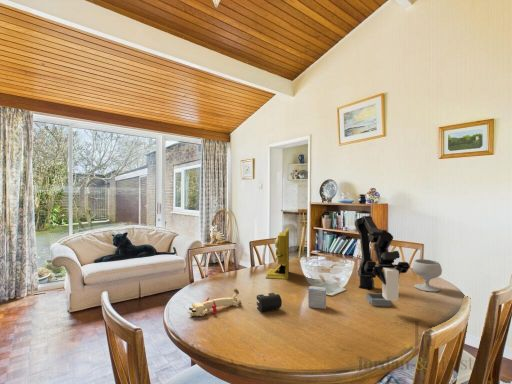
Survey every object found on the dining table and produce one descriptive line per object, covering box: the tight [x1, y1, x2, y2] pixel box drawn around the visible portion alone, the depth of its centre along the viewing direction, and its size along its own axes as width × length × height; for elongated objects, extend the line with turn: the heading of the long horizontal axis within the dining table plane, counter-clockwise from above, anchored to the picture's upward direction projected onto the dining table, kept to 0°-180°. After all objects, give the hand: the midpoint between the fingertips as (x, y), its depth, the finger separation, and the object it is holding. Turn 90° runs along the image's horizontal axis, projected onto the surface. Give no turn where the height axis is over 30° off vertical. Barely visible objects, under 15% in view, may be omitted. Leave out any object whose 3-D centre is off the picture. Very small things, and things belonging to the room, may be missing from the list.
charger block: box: [381, 268, 400, 302], centre depth 125 cm, size 5×5×13 cm
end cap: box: [256, 292, 283, 313], centre depth 128 cm, size 10×7×7 cm
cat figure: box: [187, 288, 242, 317], centre depth 128 cm, size 10×9×25 cm
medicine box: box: [307, 285, 327, 310], centre depth 132 cm, size 8×4×9 cm, turn 71°
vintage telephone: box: [265, 227, 290, 281], centre depth 182 cm, size 31×14×30 cm, turn 172°
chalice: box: [412, 258, 443, 293], centre depth 157 cm, size 14×14×15 cm
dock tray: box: [365, 292, 392, 308], centre depth 137 cm, size 9×9×3 cm
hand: (391, 284), depth 123 cm, fingers closed on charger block, 5 cm apart
